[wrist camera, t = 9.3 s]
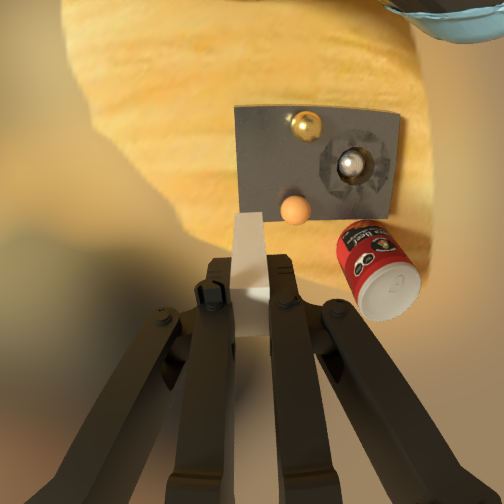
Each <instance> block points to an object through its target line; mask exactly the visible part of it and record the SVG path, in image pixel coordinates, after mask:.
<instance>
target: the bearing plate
mask: <svg viewBox="0 0 504 504" xmlns="http://www.w3.org/2000/svg"><path fill="white" fill-rule="evenodd" d="M303 111H310V112H313V113H315V114H317V115H318V116H319V117H320V118H321V120H322V122H323V133H322V135H321V137H320V138H319V139H318V140H316V141H314V142H311V143H304V142H301V141H299V140H298V139H296V138H295V137H294V135H293V134H292V131H291V122H292V119H293V118H294V116H295V115H297V114H298V113H300V112H303ZM234 115H235V135H236V154H237V172H238V190H239V208H240V213H250V212H262V217H263V222H273V221H285V220H284V219H283V218H282V215H281V206H282V203H283V202H284V201H285V199H287V198H288V197H290V196H301V197H303V198H304V199H306V200H307V202H308V203H309V205H310V209H311V212H310V216H309V218H308V220H346V219H388V215H389V209H390V203H391V196H392V189H393V182H394V175H395V167H396V158H397V148H398V137H399V125H400V114H398V113H395V112H391V111H384V110H376V109H367V108H356V107H344V106H328V105H303V104H260V105H235V106H234ZM351 147H362V148H363V149H364V151H365V154H366V156H367V162H366V167H365V169H364V170H363V172H362V173H361V174H360V175H359V176H357V177H355V178H353V179H343V178H341V177H340V176H339V175H338V173H337V161H338V159H339V158H340V156H341V155H342V153H343V152H344V151H346V150H348V149H350V148H351Z"/></svg>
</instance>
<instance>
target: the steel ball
mask: <svg viewBox="0 0 504 504" xmlns="http://www.w3.org/2000/svg"><path fill="white" fill-rule="evenodd" d="M364 165H365V163H364V158H363V156H362V155H361V154H360V153H359V152H358V151H356V150H353V149H348V150H346V151H344V152H343V153H342V155H341V156H340V158H339V159H338V161H337V167H338V169H339V171H340V172H341V173H342V174H343V175H345V176H347V177H355V176H358V175H359V174H360V173H361V172H362V171H363V169H364Z"/></svg>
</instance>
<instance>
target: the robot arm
mask: <svg viewBox="0 0 504 504" xmlns="http://www.w3.org/2000/svg"><path fill="white" fill-rule="evenodd" d="M378 1H379V2H381V3H382V5H383V6H384V7H385V8H386V9H388V10H389V11H391V12H393V13H395V14H397V15H401V16H402V17H404V18H405V19H406V20H408V21H409V22H411V23H412V24H413V25H415V26H416V27H418V28H419V29H420V30H421V31H423V32H424V33H426V34H427V35H429V36H431V37H433V38H435V39H438V40H445V41H448V42H451V43H456V44H473V43H481V42H486V41H490V40H494V39H498V38H501V37H503V36H504V0H378ZM194 291H195V295H196V301H197V307H195V308H194V309H192V310H189V311H186V312H182V313H178V312H177V311H176V310H175V309H174V308H171V307H162V308H158V309H156V310H155V311H152V313H151V314H150V315H149V316H148V318H147V319H146V321H145V322H144V324H143V325H142V327H141V328H140V330H139V332H138V333H137V335H136V336H135V338H134V339H133V341H132V343H131V344H130V346H129V347H128V349H127V351H126V352H125V354H124V355H123V357H122V358H121V360H120V362H119V363H118V365H117V367H116V368H115V370H114V372H113V373H112V375H111V376H110V378H109V380H108V382H107V383H106V385H105V387H104V388H103V390H102V392H101V394H100V395H99V397H98V399H97V400H96V402H95V404H94V405H93V407H92V409H91V411H90V412H89V414H88V416H87V418H86V419H85V421H84V423H83V425H82V426H81V428H80V430H79V432H78V433H77V435H76V437H75V439H74V441H73V443H72V444H71V447H70V448H69V450H68V452H67V454H66V456H65V457H64V459H63V461H62V463H61V465H60V467H59V469H58V471H57V473H56V475H55V477H54V478H53V479H52V480H51V481H49V482H48V483H47V484H46V485H45V486H44V487H43V488H42V489H40V490H39V491H38V492H37V493H36V494H35V495H33V496H32V497H31V498H30V499H29V500H28V501H27V502H25V503H24V504H128V502H129V500H130V498H131V496H132V493H133V491H134V489H135V487H136V484H137V482H138V480H139V477H140V475H141V473H142V470H143V468H144V466H145V464H146V461H147V459H148V456H149V454H150V452H151V450H152V447H153V445H154V443H155V441H156V439H157V436H158V434H159V432H160V430H161V427H162V425H163V423H164V421H165V418H166V416H167V414H168V412H169V409H170V407H171V405H172V402H173V400H174V398H175V395H176V394H177V391H178V389H179V387H180V385H181V382H182V380H183V378H184V376H185V373H186V371H187V374H186V380H185V387H184V395H183V402H182V409H181V417H180V425H179V434H178V441H177V451H176V459H175V467H174V471H173V473H172V474H171V475H170V476H169V478H168V481H167V485H166V494H165V504H235V498H234V414H235V412H234V411H235V363H236V344H235V337H242V336H266V335H270V356H271V369H272V383H273V399H274V413H275V429H276V447H277V463H278V481H279V504H343V502H342V494H341V487H340V482H339V477H338V474H337V472H336V471H335V470H334V468H333V465H332V459H331V452H330V446H329V439H328V433H327V427H326V421H325V416H324V409H323V403H322V398H321V392H320V386H319V381H318V375H317V370H316V365H315V359H314V354H316V357H317V359H318V361H319V363H320V364H321V366H322V368H323V370H324V372H325V374H326V376H327V378H328V380H329V382H330V384H331V386H332V388H333V389H334V391H335V393H336V395H337V397H338V399H339V401H340V403H341V405H342V407H343V409H344V411H345V413H346V415H347V417H348V418H349V420H350V422H351V424H352V426H353V428H354V430H355V432H356V434H357V436H358V438H359V440H360V442H361V444H362V446H363V448H364V450H365V452H366V453H367V456H368V457H369V459H370V461H371V463H372V465H373V467H374V469H375V471H376V473H377V475H378V477H379V479H380V481H381V483H382V485H383V487H384V489H385V491H386V493H387V495H388V497H389V498H390V500H391V501H392V503H393V504H502V503H501V498H500V496H499V495H498V494H497V493H496V492H495V491H494V490H492V489H491V488H490V487H488V486H487V485H486V484H484V483H483V482H481V481H480V480H479V479H477V478H476V477H475V476H473V475H472V474H471V473H469V472H468V471H467V470H465V469H464V468H463V467H461V466H460V464H459V462H458V461H457V459H456V457H455V456H454V454H453V452H452V451H451V449H450V448H449V446H448V444H447V443H446V441H445V440H444V438H443V436H442V435H441V433H440V432H439V430H438V428H437V427H436V425H435V424H434V422H433V420H432V419H431V417H430V416H429V414H428V413H427V411H426V410H425V408H424V407H423V405H422V403H421V402H420V401H419V399H418V397H417V396H416V394H415V393H414V392H413V390H412V389H411V387H410V385H409V384H408V382H407V381H406V380H405V378H404V377H403V375H402V374H401V372H400V371H399V369H398V368H397V367H396V365H395V364H394V362H393V361H392V359H391V358H390V356H389V355H388V354H387V352H386V351H385V349H384V348H383V347H382V345H381V344H380V342H379V341H378V339H377V338H376V337H375V335H374V334H373V332H372V331H371V330H370V328H369V327H368V325H367V324H366V323H365V321H364V320H363V319H362V317H361V316H360V314H359V313H358V312H357V310H356V309H355V308H354V306H353V305H352V304H351V303H350V302H348V301H345V300H343V299H331V300H329V301H326V303H325V304H323V306H318V305H313V304H309V303H307V302H305V301H304V300H303V299H302V298H301V296H300V295H299V293H298V288H297V284H296V279H295V274H294V269H293V265H292V260H291V259H290V258H289V257H288V256H287V255H286V254H277V255H266V247H265V237H264V227H263V217H262V212H250V213H235V221H234V234H233V248H232V257H230V258H213V260H212V261H211V262H210V263H209V264H208V270H207V275H206V279H205V280H203V281H201V282H199V283H198V284H197V285H196V287H195V289H194ZM313 353H314V354H313Z"/></svg>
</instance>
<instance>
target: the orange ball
mask: <svg viewBox="0 0 504 504" xmlns="http://www.w3.org/2000/svg"><path fill="white" fill-rule="evenodd" d="M310 212H311V209H310V205H309V203H308V202H307V200H306V199H304V198H303V197H301V196H290V197H288V198H287V199H285V201H284V202H283V203H282V206H281V215H282V218H283V219H284V220H285V221H286V222H287V223H288V224H290V225H296V226H297V225H301V224H303V223H305V222H306V221H307V220H308V218H309V216H310Z"/></svg>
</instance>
